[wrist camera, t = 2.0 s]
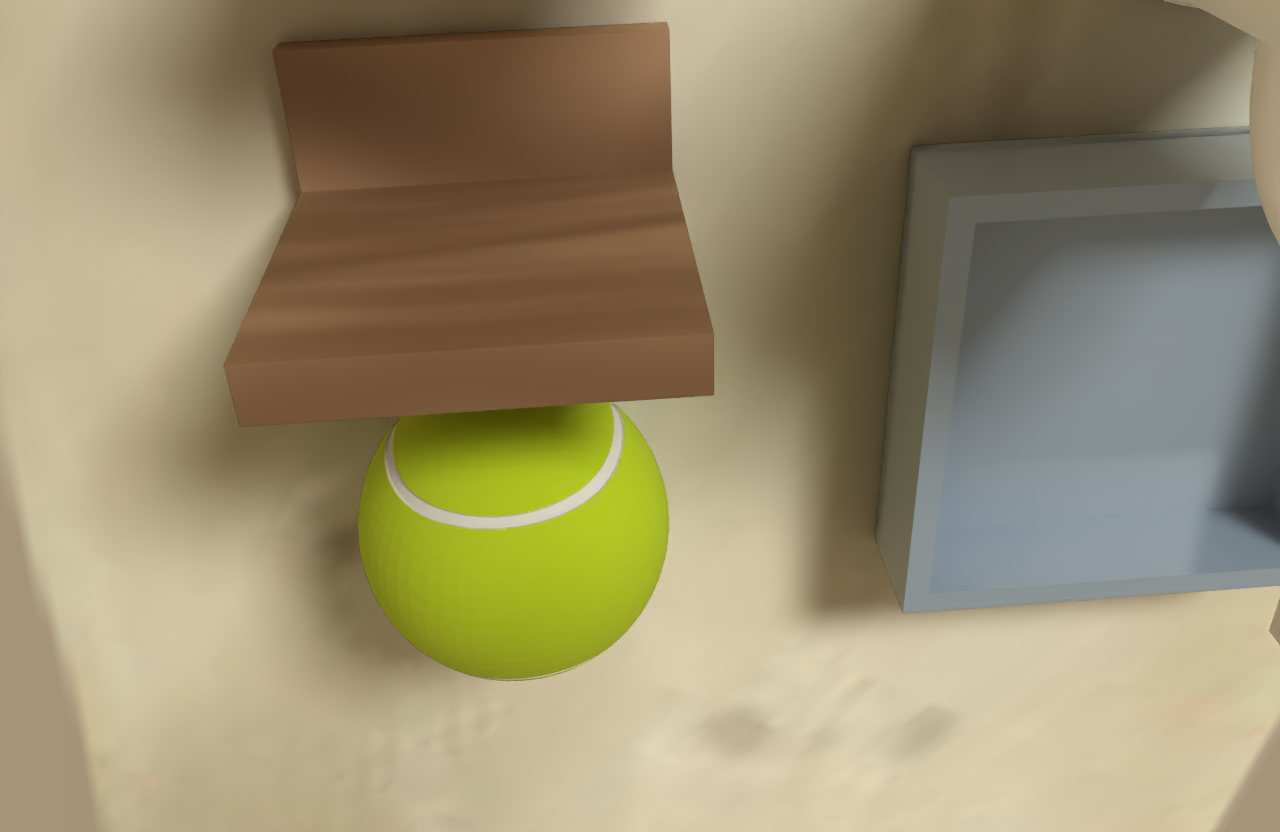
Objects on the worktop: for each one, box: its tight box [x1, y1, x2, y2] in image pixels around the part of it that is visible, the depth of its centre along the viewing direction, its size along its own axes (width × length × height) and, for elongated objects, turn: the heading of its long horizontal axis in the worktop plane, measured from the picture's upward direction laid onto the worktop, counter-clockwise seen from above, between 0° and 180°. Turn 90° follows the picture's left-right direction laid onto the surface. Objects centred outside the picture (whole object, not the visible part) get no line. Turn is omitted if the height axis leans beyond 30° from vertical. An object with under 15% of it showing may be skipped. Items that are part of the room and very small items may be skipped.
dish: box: [875, 126, 1280, 614], centre depth 29 cm, size 11×11×3 cm
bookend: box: [224, 22, 714, 427], centre depth 22 cm, size 4×8×8 cm, turn 92°
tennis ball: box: [358, 402, 669, 681], centre depth 27 cm, size 7×7×7 cm
